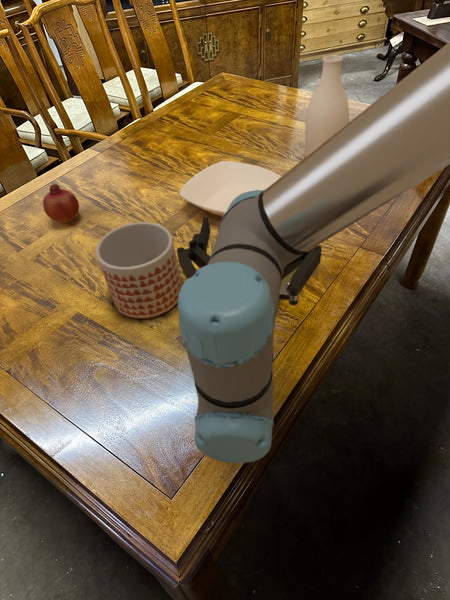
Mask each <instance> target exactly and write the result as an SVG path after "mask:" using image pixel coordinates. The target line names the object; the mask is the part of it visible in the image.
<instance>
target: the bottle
mask: <svg viewBox="0 0 450 600" xmlns="http://www.w3.org/2000/svg"><path fill="white" fill-rule="evenodd" d="M343 60H344V59H343V56H341V55H338V54H337V55H336V54H331V55H326V56H324V57H323V58H322V70H321V77H320V81H319V83H318V84H317V86H316V88H315V90H314V91H313V93H312V94H311V97H310V100H309V102H308V106H307V108H306V114H305V118H304V121H305V122H304V145H305V147H304V148H305V157H307V156H308V155H309V154H310V153H312V152H313V151H314V150H315V149H317V148H318V147H319V146H320V145H322V144H323V143H324V142H325V141H327V140H328V139H329V138H330V137H332V136H333V135H334V134H335V133H337V132H338V131H339V130H340V129H342V128H343V127H344V126H345V125H347V124H348V123H349V122H350V107H349V101H348V95H347V94H348V93H347V92H346V90H345V87H344V85H343V82H342V79H341V76H342V63H343V62H342V61H343Z"/></svg>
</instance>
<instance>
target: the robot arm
mask: <svg viewBox="0 0 450 600" xmlns="http://www.w3.org/2000/svg"><path fill="white" fill-rule="evenodd" d="M448 166H450V41H449V42H448V43H446V44H445V45H444V46H442V47H441V48H439V50H438V51H436V52H435V53H434V54H433V55H431V56H430V57H429V58H428V59H426V60H425V61H424V62H423V63H421V64H420V65H419V66H418V67H417V68H415V69H414V70H412V71H411V72H410V73H409V74H408V75H407V76H405V77H404V78H403V79H401V80H400V81H399V82H398V83H396V84H395V85H394V86H393V87H391V88H390V89H389V90H387V91H386V92H385V93H384V94H382V95H381V96H380V97H379V98H378V99H376V100H375V101H374V102H373V103H371V104H370V105H369V106H368V107H366V108H365V109H364V110H363V111H361V112H360V113H359V114H358V115H356V116H355V117H354V118H353V119H351V120H349V123H348V124H347V125H345V126H344V127H343V128H342V129H340V130H339V131H338V132H337V133H335V134H334V135H333V136H332V137H330V138H329V139H328V140H327V141H325V142H324V143H323V144H322V145H320V146H319V147H318V148H317V149H315V150H314V151H313V152H312V153H310V154H309V155H308V156H307V157H306V156H305V157H304V158H303V159H301V160H300V161H299V162H298V163H297V164H296V165H293V167H291V168H290V169H289V170H287V171H286V172H285V173H284V174H283V175H282V176H281V177H280V178H279V179H278V180H277V181H275V182H274V183H273V184H272V185H270V186H269V187H268V188H266V189H265V190H255V191H249V192H244V193H242V194H240V195H239V196H237V197H236V198H235V199H234V200H233V201H232V202H231V204H230V205H229V207H228V209H227V211H226V213H225V214H224V215H223V217H221V220H220V222H219V226H218V231H217V235H216V238H215V241H214V244H213V247H212V251H211V252H210V254H211V256H209V255H210V254H208V253H207V252H208V246H209V245H208V244H209V241H210V237H211V226H210V217H209V216H203V218H202V222H201V223H202V224H201V227H200V232H199V233H194V234H193V235H192V240H189V241H188V247H187V248H185V247H183V246H180V247H178V248H176V256H177V261H178V265H179V266H180V268H181V270H182V272H183V275H184V276H185V278H186V280H184V282H182V287H181V289H180V292H179V296H178V303H177V308H178V309H177V310H178V326H179V329H180V335H181V338H182V340H183V344H184V346H185V350H186V355H187V358H188V361H189V365H190V368H191V373H192V376H193V381H194V383H193V384H194V387H195V392H196V395H197V410H196V415H194V419H193V420H194V422H195V424H194V425H195V426H194V439H193V440H194V444H195V446H196V448H197V449H198V451H200V452H201V453H202V455H205V456H206V457H208V458H210V459H212V460H214V461H218V462H221V463H228V464H248V463H253V462H256V461H258V460H261V459H262V458H264V457H265V456H266V455H267V454H268V453H269V452H270V450H271V447H272V441H273V427H274V426H275V424H274V354H275V353H274V350H275V349H274V347H275V346H274V344H275V331H274V330H275V325H276V320H277V313H278V306H279V305H278V304H279V301H280V300H284V301H285V300H286V301H288V303H289V305H291V306H297V305H298V304H299V301H300V293H301V292H302V290H303V289H304V287H305V286H306V285H307V283H308V282H309V280H310V278H311V277H312V275H313V274H314V273H315V271H316V270H317V268H318V267H319V265H320V264H321V261H322V260H321V259H322V252H323V251H322V249H323V248H322V246H321V244H322V243H325V242H326V241H328V240H329V239H330V238H332V237H334V236H335V235H337V234H338V233H340V232H342V231H344V230H345V229H348V228H349V227H351V226H352V225H353V224H355V223H357V222H358V221H360V220H362V219H363V218H365V217H366V216H368V215H370V214H371V213H373V212H375V211H376V210H378V209H379V208H381V207H383V206H385V205H386V204H388V203H389V202H391V201H393V200H394V199H396V198H398V197H399V196H401V195H402V194H404V193H406V192H407V191H409V190H411V189H413V188H414V187H416V186H417V185H419V184H421V183H422V182H424V181H426V180H427V179H429V178H431V177H432V176H434V175H436V174H437V173H439V172H440V171H442V170H443V169H445V168H447V167H448ZM195 266H197V267H198V269H196V267H195ZM297 267H298V269H297V270H296V271H295V273H294V274H293V276H292V277H291V280H290V281H287V282H286V284H285V285H284V286H283V288H280V287H281V281H282V280H283V279H284V278H285V277H286V276H287V275H289V274H290V273H291V272H292V271H294V270H295V269H296V268H297ZM278 300H279V301H278Z"/></svg>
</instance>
